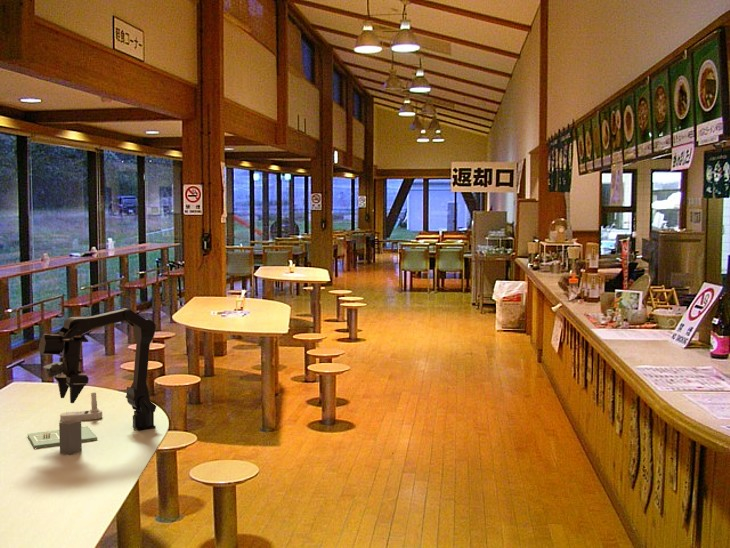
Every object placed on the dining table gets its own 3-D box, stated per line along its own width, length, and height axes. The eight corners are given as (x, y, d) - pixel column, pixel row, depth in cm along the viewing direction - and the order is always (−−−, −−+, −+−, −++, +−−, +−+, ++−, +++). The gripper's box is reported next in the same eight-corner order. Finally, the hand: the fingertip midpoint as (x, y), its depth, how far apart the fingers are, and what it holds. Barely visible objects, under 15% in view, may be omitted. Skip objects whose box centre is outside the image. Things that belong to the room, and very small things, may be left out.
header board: (87, 428, 285) (87, 422, 285) (97, 440, 271) (97, 432, 271) (27, 436, 275) (27, 429, 275) (34, 448, 261) (34, 441, 261)
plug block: (72, 449, 261) (71, 419, 260) (81, 451, 259) (81, 420, 258) (59, 453, 257) (59, 422, 256) (69, 455, 255) (68, 424, 254)
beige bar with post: (60, 394, 299) (101, 391, 302) (61, 419, 300) (103, 416, 303) (57, 397, 294) (100, 394, 297) (59, 423, 295) (101, 419, 298)
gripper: (38, 350, 270) (33, 396, 270) (57, 358, 256) (52, 406, 256) (70, 351, 278) (66, 395, 278) (91, 358, 263) (86, 405, 263)
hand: (67, 400), depth 269 cm, fingers open, 9 cm apart
